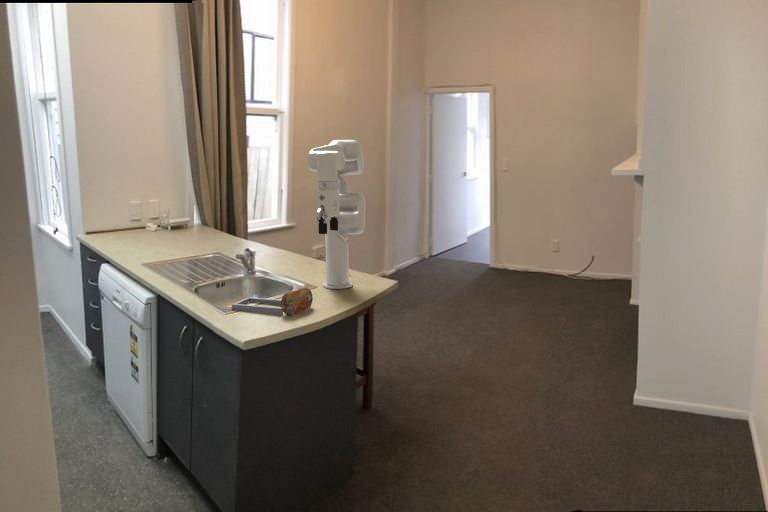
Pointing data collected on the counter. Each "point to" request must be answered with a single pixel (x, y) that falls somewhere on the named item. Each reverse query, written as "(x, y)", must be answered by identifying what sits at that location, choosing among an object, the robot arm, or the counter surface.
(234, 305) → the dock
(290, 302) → the tin
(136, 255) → the counter surface
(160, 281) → the counter surface
